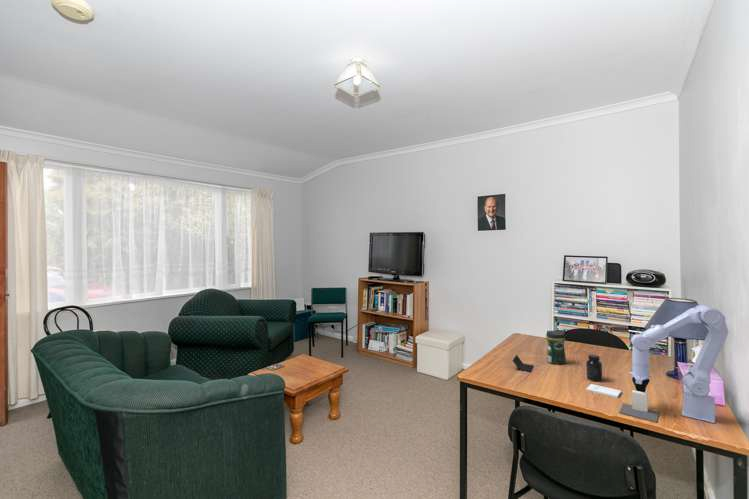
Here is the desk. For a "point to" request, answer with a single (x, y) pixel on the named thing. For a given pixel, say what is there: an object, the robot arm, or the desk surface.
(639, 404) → the slab
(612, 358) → the desk surface
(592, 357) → the supplement bottle
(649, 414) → the mat
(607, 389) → the external hard drive
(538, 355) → the desk surface
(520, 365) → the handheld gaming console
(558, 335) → the coffee jar
